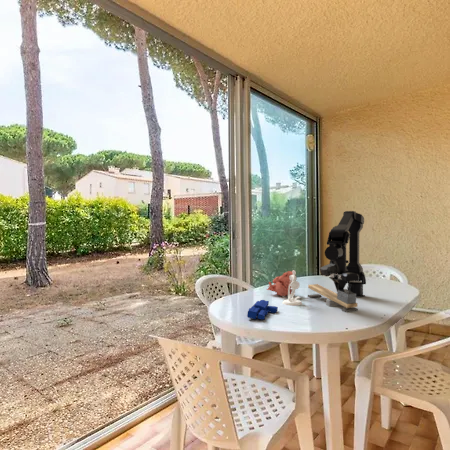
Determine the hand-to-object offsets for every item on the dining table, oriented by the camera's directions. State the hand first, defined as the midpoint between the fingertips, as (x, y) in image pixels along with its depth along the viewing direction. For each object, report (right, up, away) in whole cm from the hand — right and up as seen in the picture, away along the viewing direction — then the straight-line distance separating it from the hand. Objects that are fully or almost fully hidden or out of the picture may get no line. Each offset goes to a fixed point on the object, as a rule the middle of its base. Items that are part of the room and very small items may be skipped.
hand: (339, 294), depth 146 cm
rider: (+1, -2, -4) cm, 5 cm away
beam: (-2, -2, +6) cm, 7 cm away
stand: (-2, -5, +6) cm, 8 cm away
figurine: (-19, -6, +8) cm, 21 cm away
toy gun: (-33, -7, -9) cm, 35 cm away
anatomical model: (-21, -6, +23) cm, 32 cm away
